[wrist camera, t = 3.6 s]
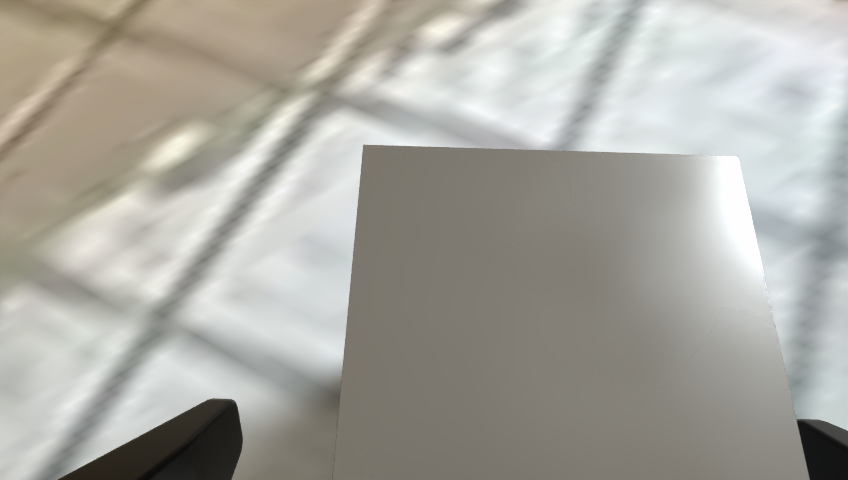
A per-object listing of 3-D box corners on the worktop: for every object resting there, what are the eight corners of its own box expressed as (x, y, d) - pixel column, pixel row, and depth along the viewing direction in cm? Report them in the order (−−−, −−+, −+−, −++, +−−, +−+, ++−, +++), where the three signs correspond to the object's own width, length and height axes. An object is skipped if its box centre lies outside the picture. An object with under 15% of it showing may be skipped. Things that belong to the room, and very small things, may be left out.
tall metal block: (533, 478, 16) (838, 605, 4) (397, 473, 16) (323, 584, 4) (527, 341, 18) (737, 155, 6) (404, 337, 18) (363, 145, 6)
